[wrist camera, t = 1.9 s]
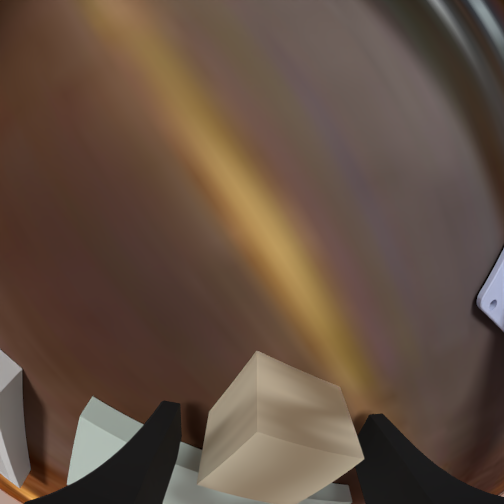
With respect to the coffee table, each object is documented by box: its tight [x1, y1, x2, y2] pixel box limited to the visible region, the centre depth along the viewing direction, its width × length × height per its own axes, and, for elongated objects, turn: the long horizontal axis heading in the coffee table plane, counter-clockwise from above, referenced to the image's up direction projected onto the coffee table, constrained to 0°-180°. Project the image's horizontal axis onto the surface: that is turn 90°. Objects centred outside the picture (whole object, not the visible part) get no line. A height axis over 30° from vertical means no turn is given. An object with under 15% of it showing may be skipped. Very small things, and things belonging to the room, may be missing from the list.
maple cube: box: [197, 351, 364, 504], centre depth 9 cm, size 4×4×4 cm
